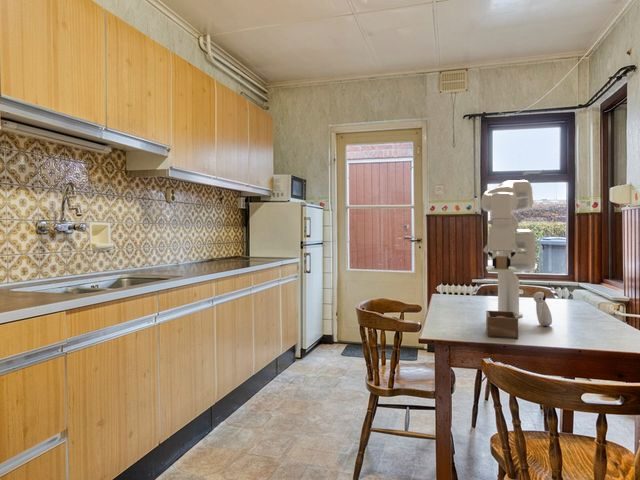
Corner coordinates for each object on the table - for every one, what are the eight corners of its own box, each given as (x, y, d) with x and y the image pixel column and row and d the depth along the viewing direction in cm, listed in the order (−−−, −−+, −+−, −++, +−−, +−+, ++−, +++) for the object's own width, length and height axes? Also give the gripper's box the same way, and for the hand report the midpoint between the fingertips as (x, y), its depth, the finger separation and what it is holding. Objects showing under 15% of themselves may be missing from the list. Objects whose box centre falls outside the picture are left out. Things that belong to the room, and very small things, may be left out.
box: (486, 329, 183) (486, 310, 183) (514, 330, 180) (514, 311, 179) (487, 337, 170) (487, 317, 170) (518, 339, 166) (518, 318, 166)
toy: (555, 329, 182) (555, 293, 181) (537, 328, 183) (537, 293, 183) (547, 323, 193) (547, 290, 192) (530, 322, 194) (530, 289, 194)
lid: (486, 268, 183) (486, 254, 183) (514, 268, 180) (514, 255, 180) (487, 271, 170) (487, 257, 170) (517, 272, 167) (517, 257, 166)
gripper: (479, 223, 173) (479, 268, 173) (525, 222, 167) (525, 269, 168) (479, 223, 180) (479, 266, 180) (522, 222, 174) (522, 267, 175)
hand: (501, 267), depth 174 cm, fingers closed on lid, 4 cm apart
